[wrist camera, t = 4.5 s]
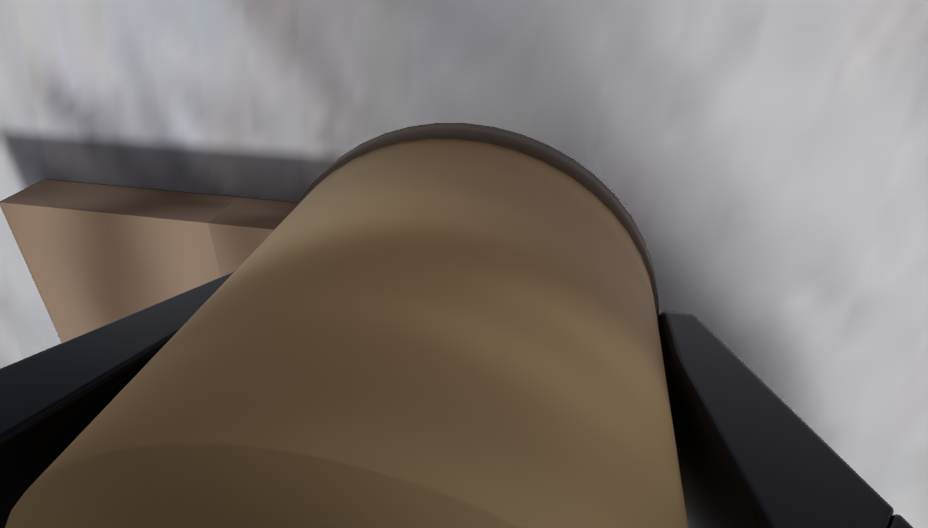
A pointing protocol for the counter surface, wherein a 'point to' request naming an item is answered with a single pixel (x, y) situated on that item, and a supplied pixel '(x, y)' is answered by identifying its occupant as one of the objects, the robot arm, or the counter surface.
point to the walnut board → (129, 245)
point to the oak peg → (403, 363)
